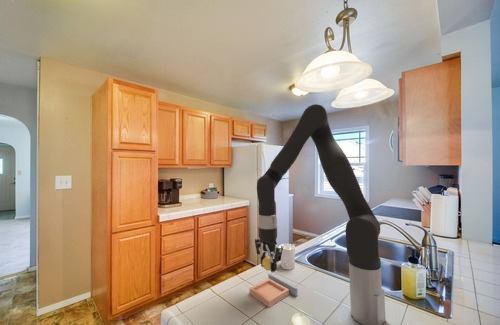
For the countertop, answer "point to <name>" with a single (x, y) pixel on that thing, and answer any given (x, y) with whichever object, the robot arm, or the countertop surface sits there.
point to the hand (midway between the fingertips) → (268, 268)
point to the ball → (266, 263)
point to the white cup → (288, 256)
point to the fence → (284, 284)
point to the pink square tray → (269, 292)
